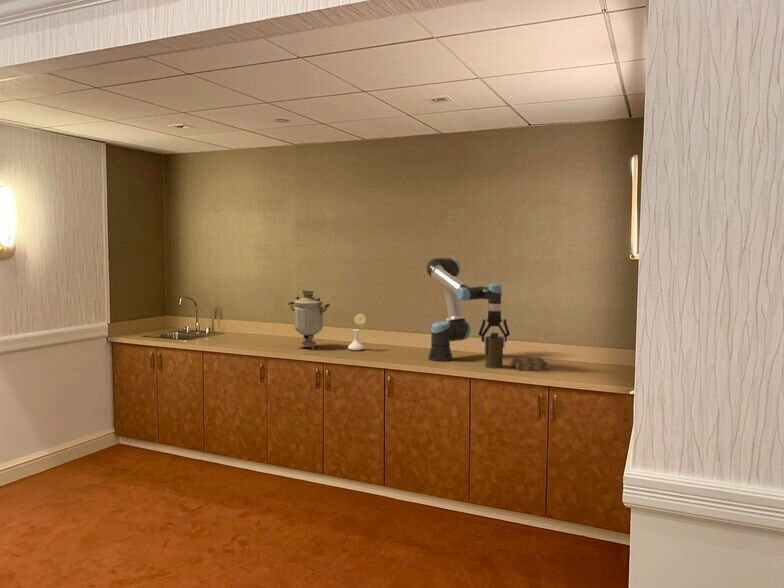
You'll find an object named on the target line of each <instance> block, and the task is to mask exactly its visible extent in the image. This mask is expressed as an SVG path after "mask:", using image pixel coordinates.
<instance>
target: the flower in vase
mask: <svg viewBox="0 0 784 588" xmlns="http://www.w3.org/2000/svg"><path fill="white" fill-rule="evenodd" d="M353 320H354V322H355V324H357V325H358V327H357V326H356V325H353V324H352V326H353V327H354V328H355V329H352V332H353V336H354V340H353V341H352V342H351V343H350V344H349V345H348V346H347V349H348V350H350V351H362V350H364V349H365V348H366V347H365V346H364V344H363V343H361V342H360V341H359V332H360V329H364V328H366V326H365V325H364V324H366V321H367V317H366V316H365V314H363V313H358V314H357V315H355V317H354V319H353ZM359 328H360V329H359Z"/></svg>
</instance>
